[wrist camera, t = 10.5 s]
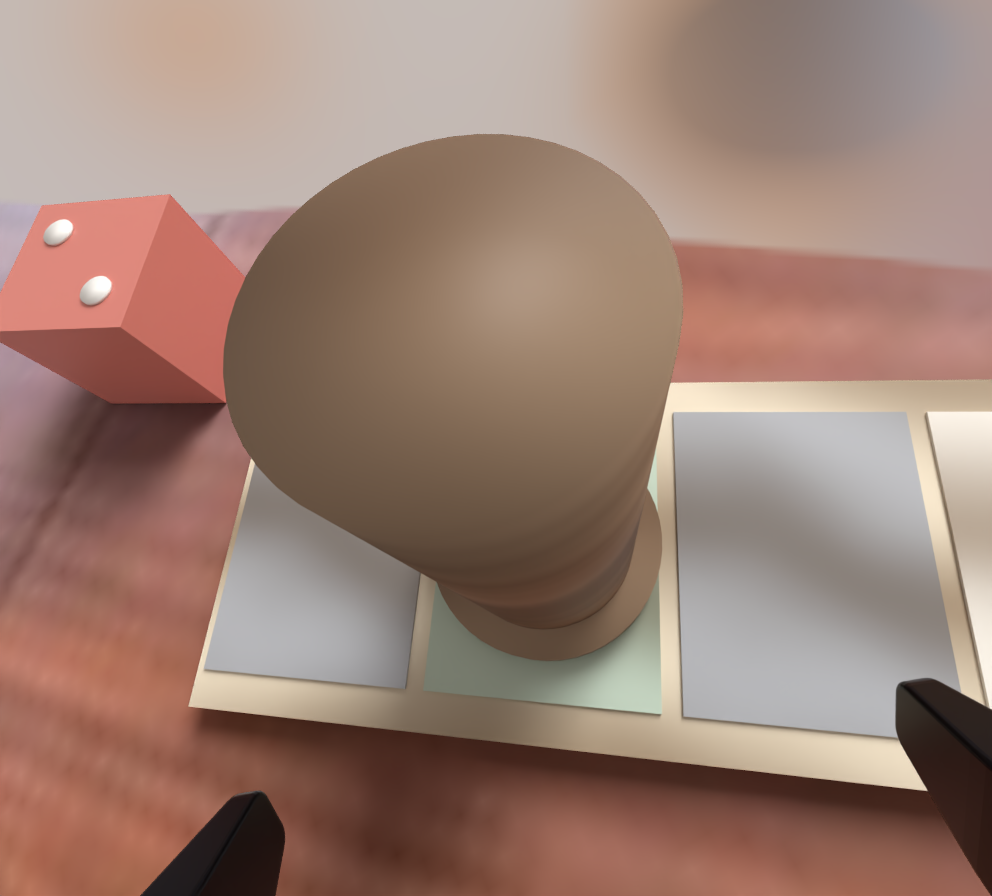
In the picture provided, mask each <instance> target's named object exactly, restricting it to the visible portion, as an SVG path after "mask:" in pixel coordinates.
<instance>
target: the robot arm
mask: <svg viewBox="0 0 992 896" xmlns="http://www.w3.org/2000/svg"><path fill="white" fill-rule="evenodd" d="M895 728H896V733H897V736H898V739H899V741H900V744H901V746H902V747H903V749H904V751H905V753H906V754H907V756H908V758H909V760H910V761H911V763H912V765H913V767H914V768H915V770H916V772H917V773H918V775H919V777H920V779H921V780H922V782H923V784H924V786H925V787H926V789H927V791H928V792H929V794H930V796H931V798H932V799H933V801H934V803H935V804H936V806H937V808H938V810H939V811H940V813H941V815H942V817H943V818H944V820H945V822H946V823H947V825H948V827H949V829H950V830H951V832H952V834H953V836H954V837H955V839H956V841H957V842H958V844H959V846H960V848H961V849H962V851H963V853H964V854H965V856H966V858H967V859H968V861H969V863H970V864H971V866H972V868H973V869H974V871H975V872H976V874H977V875H978V877H979V878H980V880H981V881H982V883H983V884H984V886H985V887H986V889H987V890H988V892H989V893H990V895H991V896H992V709H990V708H988V707H987V706H985V705H983V704H981V703H979V702H977V701H975V700H974V699H972V698H970V697H968V696H966V695H964V694H962V693H961V692H959V691H957V690H955V689H953V688H951V687H950V686H948V685H946V684H944V683H942V682H940V681H938V680H936V679H933V678H920V679H914V680H908V681H902V682H900V683H899V684H898V685H897V687H896V700H895ZM284 844H285V831H284V827H283V824H282V822H281V820H280V819H279V817H278V815H277V813H276V811H275V810H274V808H273V806H272V804H271V803H270V801H269V799H268V797H267V796H266V794H265V793H264V792H262V791H252V792H246V793H240V794H237V795H235V796H233V797H232V798H231V799H230V800H228V801H227V802H226V804H225V805H224V806H223V807H222V808H221V809H220V810H219V811H218V812H217V813H216V814H215V815H214V817H213V818H212V819H211V820H210V821H209V822H208V823H207V824H206V825H205V826H204V827H203V828H202V829H201V831H200V832H199V833H198V834H197V835H196V836H195V837H194V838H193V839H192V840H191V841H190V842H189V844H188V845H187V846H186V847H185V848H184V849H183V850H182V851H181V852H180V853H179V854H178V855H177V857H176V858H175V859H174V860H173V861H172V862H171V863H170V864H169V865H168V866H167V867H166V868H165V869H164V871H163V872H162V873H161V874H160V875H159V876H158V877H157V878H156V879H155V880H154V881H153V882H152V884H151V885H150V886H149V887H148V888H147V889H146V890H145V891H144V892H143V893H142V894H141V895H140V896H275V895H276V890H277V884H278V879H279V873H280V867H281V862H282V856H283V851H284Z"/></svg>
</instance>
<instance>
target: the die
mask: <svg viewBox="0 0 992 896" xmlns="http://www.w3.org/2000/svg"><path fill="white" fill-rule="evenodd" d="M244 280H245V277H244V276H243V275H242V273H241V272H240V271H239V270H238V269H237V268H236V267H235V266H234V265H233V263H232V262H231V261H230V260H229V259H228V258H227V257H226V256H225V255H224V254H223V252H222V251H221V250H220V249H219V248H218V247H217V246H216V245H215V244H214V242H213V241H212V240H211V239H210V238H209V237H208V236H207V235H206V234H205V232H204V231H203V230H202V229H201V228H200V227H199V226H198V225H197V224H196V223H195V221H194V220H193V219H192V218H191V217H190V216H189V215H188V214H187V213H186V211H185V210H184V209H183V208H182V207H181V206H180V205H179V204H178V203H177V202H176V201H175V199H174V198H173V197H172V196H171V195H170V194H169V195H157V196H146V197H135V198H123V199H112V200H101V201H89V202H79V203H78V202H77V203H66V204H54V205H43V206H41V208H40V210H39V213H38V215H37V217H36V219H35V221H34V223H33V225H32V227H31V229H30V231H29V234H28V236H27V238H26V240H25V242H24V244H23V246H22V248H21V250H20V252H19V255H18V257H17V259H16V261H15V263H14V265H13V267H12V269H11V271H10V273H9V276H8V278H7V280H6V282H5V284H4V286H3V288H2V290H1V292H0V342H1V343H3V344H4V345H6V346H8V347H10V348H12V349H13V350H15V351H17V352H19V353H21V354H22V355H24V356H26V357H28V358H30V359H32V360H33V361H35V362H37V363H39V364H41V365H42V366H44V367H46V368H48V369H50V370H51V371H53V372H55V373H57V374H59V375H61V376H62V377H64V378H66V379H68V380H70V381H71V382H73V383H75V384H77V385H79V386H80V387H82V388H84V389H86V390H88V391H90V392H91V393H93V394H95V395H97V396H99V397H100V398H102V399H104V400H106V401H108V402H109V403H111V404H121V403H226V396H225V387H224V379H223V355H224V344H225V338H226V333H227V327H228V322H229V319H230V316H231V313H232V309H233V306H234V303H235V300H236V298H237V295H238V293H239V291H240V289H241V286H242V284H243V282H244Z"/></svg>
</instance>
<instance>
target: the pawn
mask: <svg viewBox="0 0 992 896" xmlns="http://www.w3.org/2000/svg"><path fill="white" fill-rule="evenodd" d="M682 318H683V291H682V281H681V276H680V271H679V266H678V261H677V257H676V255H675V252H674V249H673V247H672V244H671V241H670V239H669V236H668V234H667V232H666V231H665V229H664V227H663V225H662V224H661V222H660V220H659V218H658V217H657V215H656V214H655V212H654V210H653V209H652V208H651V207H650V206H649V205H648V203H647V202H646V201H645V199H644V198H643V197H642V196H641V195H640V193H639V192H638V191H636V190H635V189H634V188H633V187H632V186H631V185H630V184H629V183H628V182H626V181H625V180H624V179H623V178H622V177H621V176H620V175H618V174H617V173H615V172H614V171H612V170H611V169H609V168H608V167H606V166H605V165H603V164H602V163H600V162H598V161H596V160H594V159H592V158H590V157H588V156H586V155H584V154H582V153H580V152H578V151H576V150H573V149H570V148H567V147H564V146H561V145H559V144H556V143H552V142H547V141H543V140H539V139H534V138H530V137H521V136H513V135H504V134H475V135H464V136H453V137H447V138H442V139H437V140H431V141H426V142H423V143H419V144H416V145H412V146H409V147H405V148H402V149H399V150H396V151H394V152H391V153H389V154H386V155H383V156H381V157H378V158H376V159H374V160H372V161H370V162H368V163H366V164H364V165H362V166H360V167H358V168H356V169H354V170H352V171H350V172H349V173H347V174H345V175H344V176H342V177H340V178H339V179H337V180H336V181H334V182H332V183H331V184H329V185H328V186H327V187H325V188H324V189H323V190H321V191H320V192H319V193H317V194H316V195H315V196H313V197H312V198H311V199H310V200H308V201H307V202H306V203H305V204H304V205H303V206H302V207H301V208H299V209H298V210H297V211H296V212H295V213H294V214H293V215H292V216H291V217H290V218H289V219H288V220H287V221H286V222H285V223H284V224H283V225H282V226H281V228H280V229H279V230H278V231H277V232H276V233H275V234H274V235H273V237H272V238H271V239H270V241H269V242H268V243H267V245H266V246H265V247H264V249H263V250H262V251H261V253H260V254H259V255H258V257H257V259H256V261H255V262H254V264H253V266H252V267H251V269H250V271H249V272H248V274H247V276H246V277H245V280H244V282H243V284H242V286H241V289H240V291H239V293H238V295H237V298H236V300H235V303H234V306H233V309H232V313H231V316H230V319H229V322H228V327H227V333H226V338H225V344H224V355H223V379H224V387H225V396H226V401H227V405H228V408H229V412H230V415H231V419H232V423H233V425H234V427H235V429H236V431H237V433H238V436H239V438H240V440H241V442H242V444H243V446H244V448H245V449H246V451H247V452H248V454H249V455H250V457H251V458H252V460H253V461H254V463H255V464H256V466H257V467H258V468H259V469H260V470H261V471H262V472H263V473H264V475H265V476H266V477H267V478H268V479H269V480H270V481H271V482H272V483H273V484H274V485H275V486H276V487H277V488H278V489H280V490H281V491H282V492H283V493H285V494H286V495H287V496H289V497H290V498H291V499H293V500H294V501H295V502H297V503H298V504H299V505H301V506H303V507H305V508H306V509H308V510H310V511H312V512H314V513H315V514H317V515H319V516H321V517H322V518H324V519H326V520H328V521H329V522H331V523H333V524H335V525H337V526H338V527H340V528H342V529H344V530H345V531H347V532H349V533H351V534H353V535H354V536H356V537H358V538H360V539H361V540H363V541H365V542H367V543H368V544H370V545H372V546H374V547H376V548H377V549H379V550H381V551H383V552H384V553H386V554H388V555H390V556H391V557H393V558H395V559H397V560H399V561H400V562H402V563H404V564H406V565H407V566H409V567H411V568H413V569H415V570H416V571H418V572H420V573H422V574H423V575H425V576H427V577H429V578H430V579H432V580H434V581H436V582H437V585H438V587H439V590H440V592H441V595H442V597H443V598H444V600H445V602H446V604H447V605H448V607H449V609H450V610H451V611H452V613H453V614H454V615H455V617H456V618H457V619H458V621H459V622H460V623H461V624H462V625H463V626H464V627H465V628H466V629H467V630H468V631H469V632H471V633H472V634H473V635H475V636H476V637H477V638H479V639H480V640H481V641H483V642H484V643H486V644H488V645H490V646H492V647H493V648H495V649H497V650H500V651H502V652H505V653H508V654H510V655H514V656H518V657H522V658H526V659H531V660H540V661H561V660H567V659H572V658H578V657H580V656H583V655H586V654H589V653H592V652H594V651H596V650H598V649H600V648H602V647H604V646H606V645H607V644H609V643H610V642H612V641H613V640H615V639H616V638H617V637H619V636H620V635H621V634H622V633H623V632H624V631H625V630H626V629H627V628H628V627H630V625H631V624H632V623H633V622H634V620H635V619H636V618H637V617H638V616H639V614H640V612H641V611H642V609H643V608H644V606H645V604H646V603H647V601H648V599H649V597H650V595H651V593H652V590H653V588H654V586H655V583H656V580H657V577H658V573H659V569H660V565H661V557H662V531H661V525H660V519H659V516H658V512H657V509H656V505H655V503H654V501H653V499H652V496H651V494H650V492H649V490H648V488H647V487H648V482H649V478H650V473H651V469H652V464H653V460H654V455H655V450H656V446H657V441H658V437H659V432H660V428H661V423H662V419H663V414H664V409H665V405H666V400H667V396H668V391H669V387H670V382H671V378H672V373H673V369H674V364H675V359H676V355H677V350H678V346H679V341H680V333H681V326H682Z"/></svg>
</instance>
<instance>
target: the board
mask: <svg viewBox="0 0 992 896" xmlns="http://www.w3.org/2000/svg"><path fill="white" fill-rule="evenodd" d="M647 488H648V490H649V492H650V494H651V496H652V499H653V501H654V503H655V505H656V509H657V512H658V516H659V519H660V525H661V531H662V557H661V565H660V569H659V573H658V577H657V580H656V583H655V586H654V588H653V590H652V593H651V595H650V597H649V599H648V601H647V603H646V604H645V606H644V608H643V609H642V611H641V612H640V614H639V616H638V617H637V618H636V619H635V620H634V622H633V623H632V624H631V625H630V627H628V628H627V629H626V630H625V631H624V632H623V633H622V634H621V635H620V636H619V637H617V638H616V639H615V640H613V641H612V642H610V643H609V644H607V645H606V646H604V647H602V648H600V649H598V650H596V651H594V652H592V653H589V654H586V655H583V656H580V657H578V658H572V659H567V660H561V661H540V660H531V659H526V658H522V657H518V656H514V655H510V654H508V653H505V652H502V651H500V650H497V649H495V648H493V647H492V646H490V645H488V644H486V643H484V642H483V641H481V640H480V639H479V638H477V637H476V636H475V635H473V634H472V633H471V632H469V631H468V630H467V629H466V628H465V627H464V626H463V625H462V624H461V623H460V622H459V621H458V619H457V618H456V617H455V615H454V614H453V613H452V611H451V610H450V609H449V607H448V605H447V604H446V602H445V600H444V598H443V597H442V595H441V592H440V590H439V587H438V585H437V582H436V581H434V580H432V579H430V578H429V577H427V576H425V575H423V574H422V573H420V572H418V571H416V570H415V569H413V568H411V567H409V566H407V565H406V564H404V563H402V562H400V561H399V560H397V559H395V558H393V557H391V556H390V555H388V554H386V553H384V552H383V551H381V550H379V549H377V548H376V547H374V546H372V545H370V544H368V543H367V542H365V541H363V540H361V539H360V538H358V537H356V536H354V535H353V534H351V533H349V532H347V531H345V530H344V529H342V528H340V527H338V526H337V525H335V524H333V523H331V522H329V521H328V520H326V519H324V518H322V517H321V516H319V515H317V514H315V513H314V512H312V511H310V510H308V509H306V508H305V507H303V506H301V505H299V504H298V503H297V502H295V501H294V500H293V499H291V498H290V497H289V496H287V495H286V494H285V493H283V492H282V491H281V490H280V489H278V488H277V487H276V486H275V485H274V484H273V483H272V482H271V481H270V480H269V479H268V478H267V477H266V476H265V475H264V473H263V472H262V471H261V470H260V469H259V468H258V467H257V466H256V464H255V463H254V461H253V460H252V458H251V461H250V465H249V469H248V473H247V477H246V481H245V485H244V489H243V493H242V497H241V501H240V505H239V509H238V513H237V517H236V521H235V525H234V529H233V532H232V536H231V540H230V544H229V548H228V552H227V556H226V560H225V564H224V568H223V572H222V576H221V580H220V584H219V588H218V592H217V596H216V600H215V604H214V608H213V612H212V615H211V619H210V623H209V627H208V631H207V635H206V639H205V643H204V647H203V651H202V655H201V659H200V663H199V667H198V671H197V675H196V679H195V683H194V687H193V691H192V694H191V698H190V702H189V707H197V708H206V709H215V710H224V711H232V712H241V713H250V714H259V715H267V716H276V717H285V718H294V719H302V720H311V721H320V722H329V723H337V724H346V725H355V726H363V727H372V728H381V729H390V730H398V731H407V732H416V733H425V734H433V735H442V736H451V737H460V738H468V739H477V740H486V741H495V742H503V743H512V744H521V745H530V746H538V747H547V748H556V749H565V750H573V751H582V752H591V753H600V754H608V755H617V756H626V757H635V758H643V759H652V760H661V761H670V762H678V763H687V764H696V765H705V766H713V767H722V768H731V769H740V770H748V771H757V772H766V773H775V774H783V775H792V776H801V777H810V778H818V779H827V780H836V781H845V782H853V783H862V784H871V785H880V786H888V787H897V788H906V789H915V790H923V791H927V789H926V787H925V786H924V784H923V782H922V780H921V779H920V777H919V775H918V773H917V772H916V770H915V768H914V767H913V765H912V763H911V761H910V760H909V758H908V756H907V754H906V753H905V751H904V749H903V747H902V746H901V744H900V741H899V739H898V736H897V733H896V728H895V700H896V687H897V685H898V684H899V683H900V682H902V681H908V680H914V679H920V678H933V679H936V680H938V681H940V682H942V683H944V684H946V685H948V686H950V687H951V688H953V689H955V690H957V691H959V692H961V693H962V694H964V695H966V696H968V697H970V698H972V699H974V700H975V701H977V702H979V703H981V704H983V705H985V706H987V707H988V708H990V709H992V380H901V381H807V382H714V383H670V387H669V391H668V396H667V400H666V405H665V409H664V414H663V419H662V423H661V428H660V432H659V437H658V441H657V446H656V450H655V455H654V460H653V464H652V469H651V473H650V478H649V482H648V487H647Z"/></svg>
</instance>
